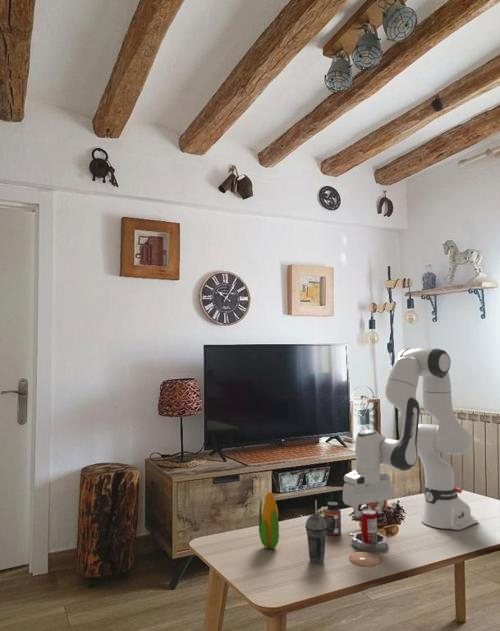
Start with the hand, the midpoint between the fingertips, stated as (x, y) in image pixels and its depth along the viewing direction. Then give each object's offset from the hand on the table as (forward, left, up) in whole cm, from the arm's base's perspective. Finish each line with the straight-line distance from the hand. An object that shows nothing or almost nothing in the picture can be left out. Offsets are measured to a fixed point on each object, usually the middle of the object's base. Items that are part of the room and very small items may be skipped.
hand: (368, 514), depth 183 cm
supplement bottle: (+4, -15, -11) cm, 19 cm away
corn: (+33, -14, -11) cm, 37 cm away
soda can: (-1, 0, -11) cm, 11 cm away
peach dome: (+9, +9, -11) cm, 17 cm away
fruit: (+4, -23, -11) cm, 26 cm away
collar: (-1, 0, -11) cm, 11 cm away
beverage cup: (+24, +3, -11) cm, 27 cm away
